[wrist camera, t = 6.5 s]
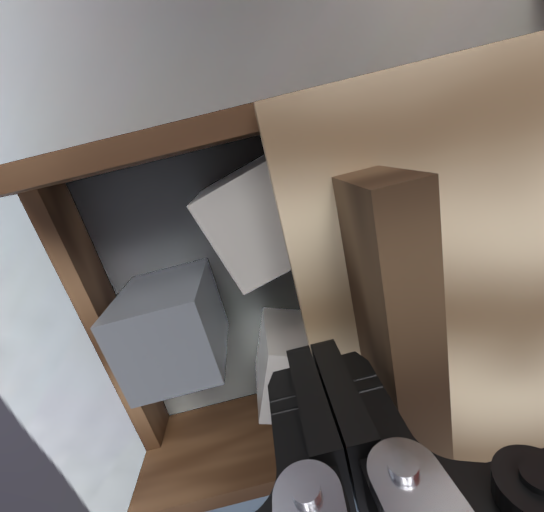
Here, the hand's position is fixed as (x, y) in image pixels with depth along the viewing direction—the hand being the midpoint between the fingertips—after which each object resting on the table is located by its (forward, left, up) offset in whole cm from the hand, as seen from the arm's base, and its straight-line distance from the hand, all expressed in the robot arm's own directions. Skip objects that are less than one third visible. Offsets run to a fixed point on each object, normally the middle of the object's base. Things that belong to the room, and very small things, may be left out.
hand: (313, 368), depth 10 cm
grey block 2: (-4, 0, -8) cm, 9 cm away
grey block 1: (0, -6, -8) cm, 10 cm away
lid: (0, +6, -2) cm, 7 cm away
